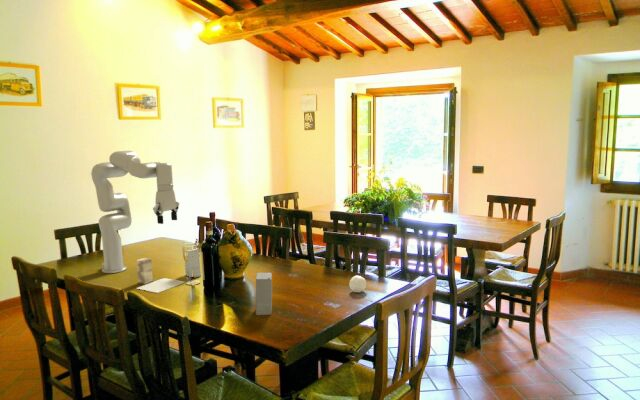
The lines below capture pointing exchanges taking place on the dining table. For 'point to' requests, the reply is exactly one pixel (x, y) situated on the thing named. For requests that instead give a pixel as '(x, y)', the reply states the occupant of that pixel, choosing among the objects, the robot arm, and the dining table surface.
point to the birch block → (144, 271)
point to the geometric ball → (357, 284)
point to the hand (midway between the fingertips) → (167, 221)
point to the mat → (160, 285)
